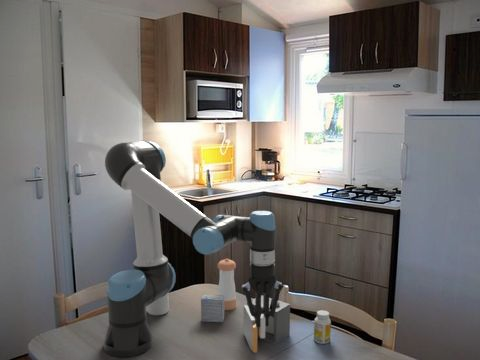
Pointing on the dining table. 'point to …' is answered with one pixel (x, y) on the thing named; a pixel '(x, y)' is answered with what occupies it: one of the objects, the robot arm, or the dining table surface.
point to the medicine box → (212, 308)
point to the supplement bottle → (322, 327)
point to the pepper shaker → (227, 283)
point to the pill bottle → (159, 306)
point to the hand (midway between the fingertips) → (262, 336)
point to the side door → (250, 329)
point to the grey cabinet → (276, 322)
